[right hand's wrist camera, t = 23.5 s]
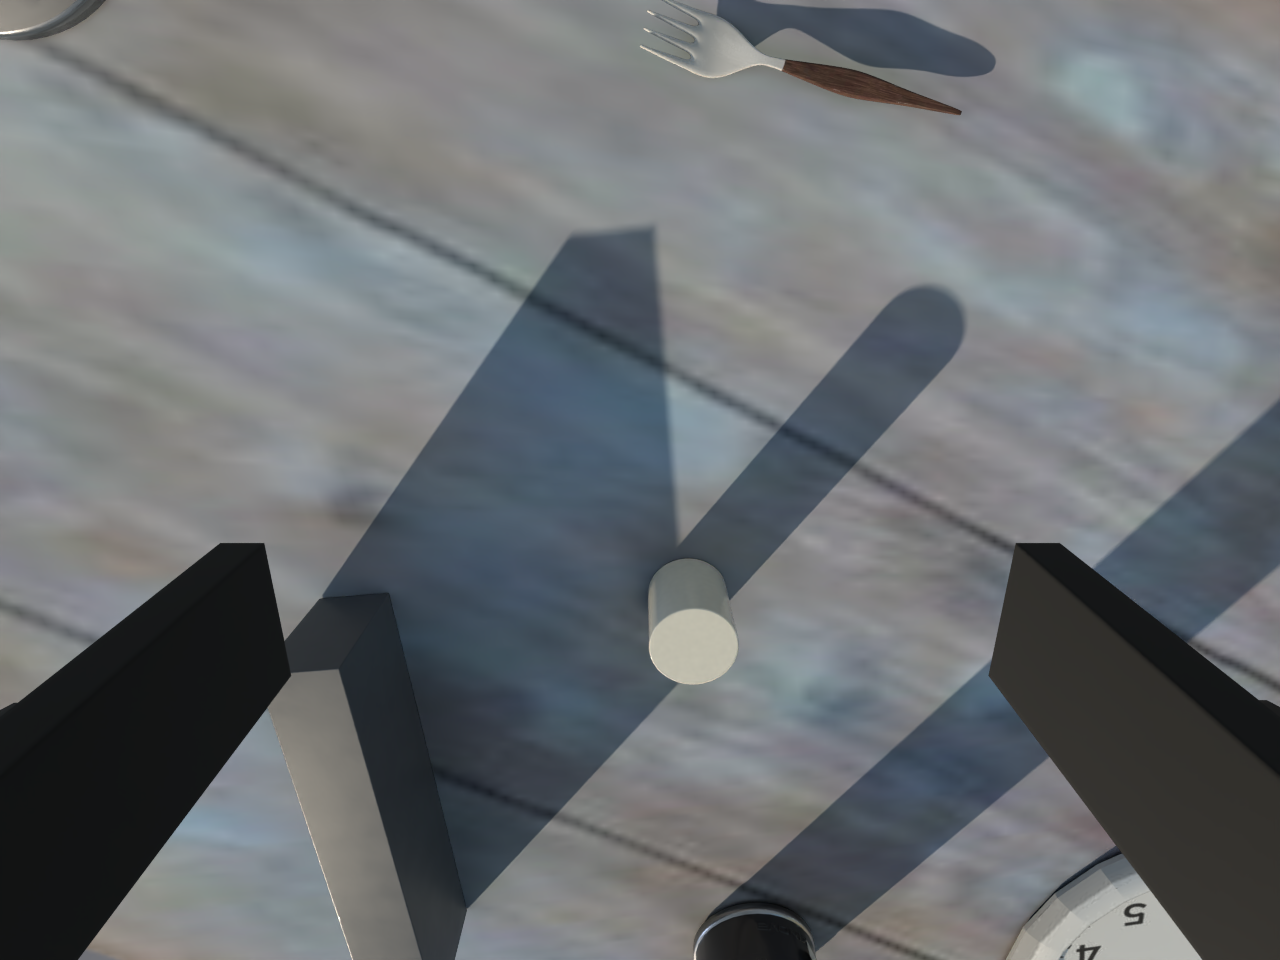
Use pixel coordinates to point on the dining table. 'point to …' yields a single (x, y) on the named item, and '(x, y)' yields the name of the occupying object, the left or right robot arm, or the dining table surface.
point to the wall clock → (1103, 921)
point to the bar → (368, 782)
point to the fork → (774, 62)
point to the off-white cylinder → (691, 622)
